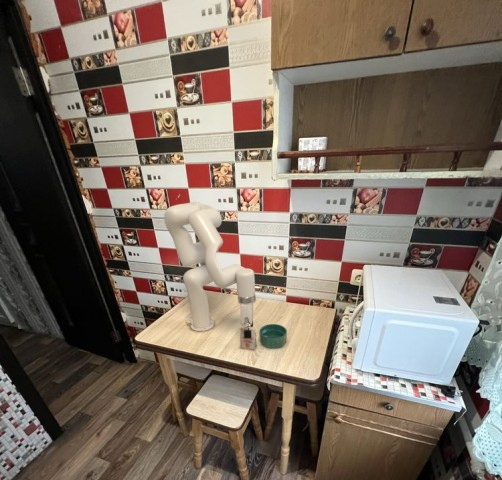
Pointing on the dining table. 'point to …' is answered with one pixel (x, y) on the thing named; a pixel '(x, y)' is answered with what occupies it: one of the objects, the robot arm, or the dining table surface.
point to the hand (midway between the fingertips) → (248, 332)
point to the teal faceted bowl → (273, 336)
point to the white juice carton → (248, 340)
